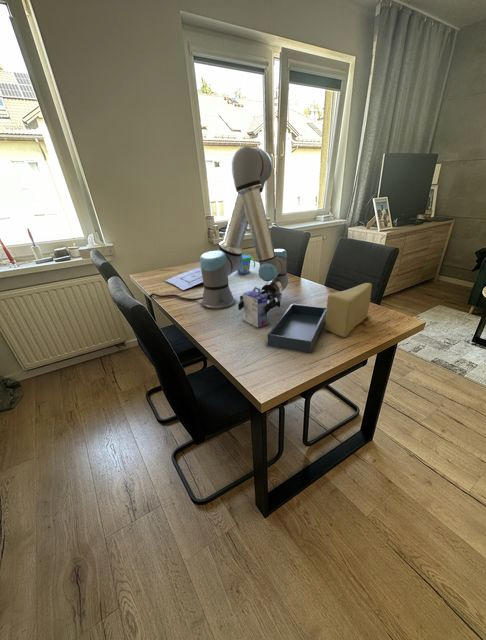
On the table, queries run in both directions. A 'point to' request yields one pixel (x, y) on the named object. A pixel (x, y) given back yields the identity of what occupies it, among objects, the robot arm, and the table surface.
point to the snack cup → (245, 264)
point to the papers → (187, 279)
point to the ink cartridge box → (255, 308)
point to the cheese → (347, 309)
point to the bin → (298, 328)
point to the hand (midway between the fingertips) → (252, 308)
